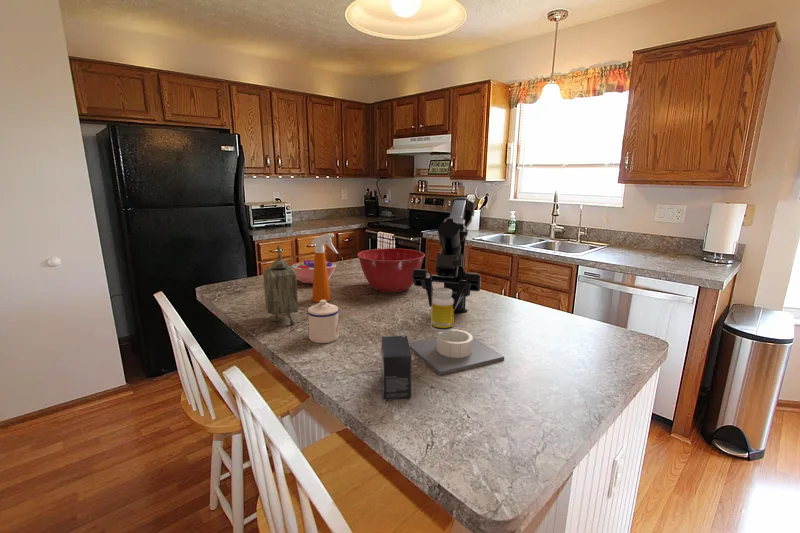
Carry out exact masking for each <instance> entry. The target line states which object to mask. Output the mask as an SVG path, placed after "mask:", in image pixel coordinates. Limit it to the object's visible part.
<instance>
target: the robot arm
mask: <svg viewBox="0 0 800 533" xmlns="http://www.w3.org/2000/svg"><path fill="white" fill-rule="evenodd" d="M452 198H453V199H452V201H450V202H449V203H450V204H449V217H446V218H444V220H443V222H441V223H440V224H439V225H438V227H437V235H438V240H439V241H438V242H439V246H440V252H439V254H436V260H435V273H436V274H432V273H430V272H428V269H425V268H424V269H423V268H420V269H414V270H413V272H412V279H413V285H414V286H415V287H422V289H423V290H425V291H426V294H427V299H428V300H427V301H428V306H429V307H430V308H431V304H432V299H433V293H434V287H433V283H443V288H449V289H451V290H452V296H451V297H452V298H453V299H454V315H455V314H462V313H467V312H468V311H469V310H468V309H466V301H467V300H466V298H467V297H470V295H471V292H480V291H481V284H482V283H481V280H482V278H481V277H482V275H481V274H480V273H478V272H469V271H468V272H466V270H465V269H464V266H465V253H466V243H467V242H466V241H467V237H468V235H469V229H468V228H469V226H470V225H471V223H472V221H473V217H475V203H474V202H473V201H471V200H469V198H467V197H465V196H464V197H462V196H461V197H458V196H455V197H452Z"/></svg>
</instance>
